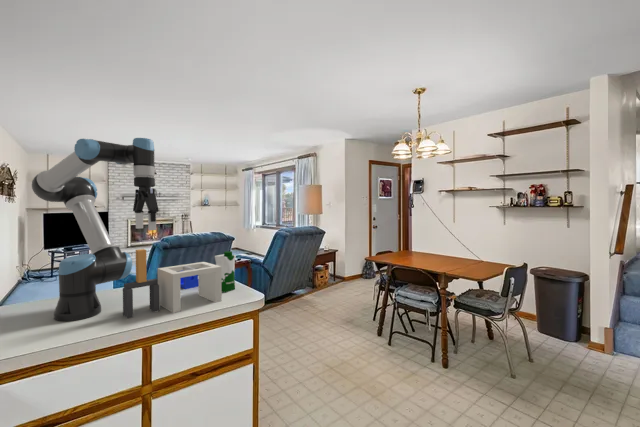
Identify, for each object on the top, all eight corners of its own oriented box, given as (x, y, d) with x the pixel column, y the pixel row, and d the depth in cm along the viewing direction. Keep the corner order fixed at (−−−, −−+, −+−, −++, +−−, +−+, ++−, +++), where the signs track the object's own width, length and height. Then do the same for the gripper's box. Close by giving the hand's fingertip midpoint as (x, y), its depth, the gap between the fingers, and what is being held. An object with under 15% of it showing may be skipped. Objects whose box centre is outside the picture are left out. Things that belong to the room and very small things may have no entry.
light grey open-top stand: (173, 312, 132) (173, 274, 131) (157, 304, 143) (157, 268, 142) (221, 300, 148) (221, 266, 148) (204, 293, 159) (204, 261, 158)
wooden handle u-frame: (127, 318, 125) (126, 252, 124) (123, 315, 129) (122, 250, 128) (159, 310, 134) (158, 249, 133) (154, 308, 138) (154, 247, 137)
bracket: (185, 289, 167) (185, 272, 166) (177, 286, 172) (177, 270, 172) (216, 283, 181) (216, 267, 180) (207, 280, 186) (207, 265, 186)
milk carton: (224, 293, 161) (224, 253, 160) (212, 290, 165) (212, 251, 164) (237, 289, 168) (237, 251, 167) (225, 286, 173) (225, 249, 172)
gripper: (167, 175, 125) (168, 230, 126) (142, 179, 142) (144, 227, 142) (146, 174, 119) (147, 231, 120) (123, 178, 136) (125, 228, 137)
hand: (145, 229), depth 131 cm, fingers open, 13 cm apart
